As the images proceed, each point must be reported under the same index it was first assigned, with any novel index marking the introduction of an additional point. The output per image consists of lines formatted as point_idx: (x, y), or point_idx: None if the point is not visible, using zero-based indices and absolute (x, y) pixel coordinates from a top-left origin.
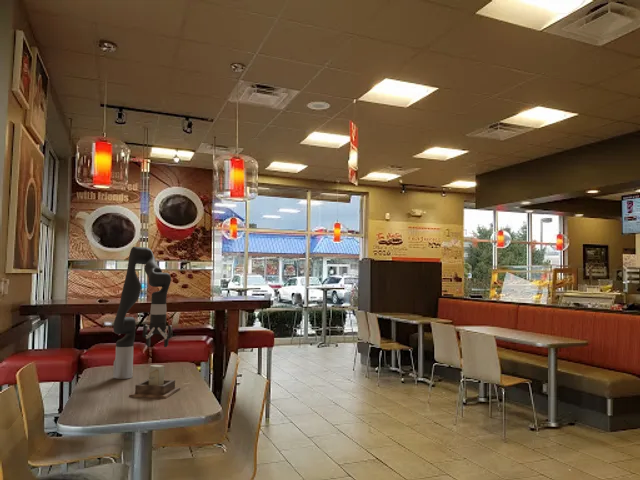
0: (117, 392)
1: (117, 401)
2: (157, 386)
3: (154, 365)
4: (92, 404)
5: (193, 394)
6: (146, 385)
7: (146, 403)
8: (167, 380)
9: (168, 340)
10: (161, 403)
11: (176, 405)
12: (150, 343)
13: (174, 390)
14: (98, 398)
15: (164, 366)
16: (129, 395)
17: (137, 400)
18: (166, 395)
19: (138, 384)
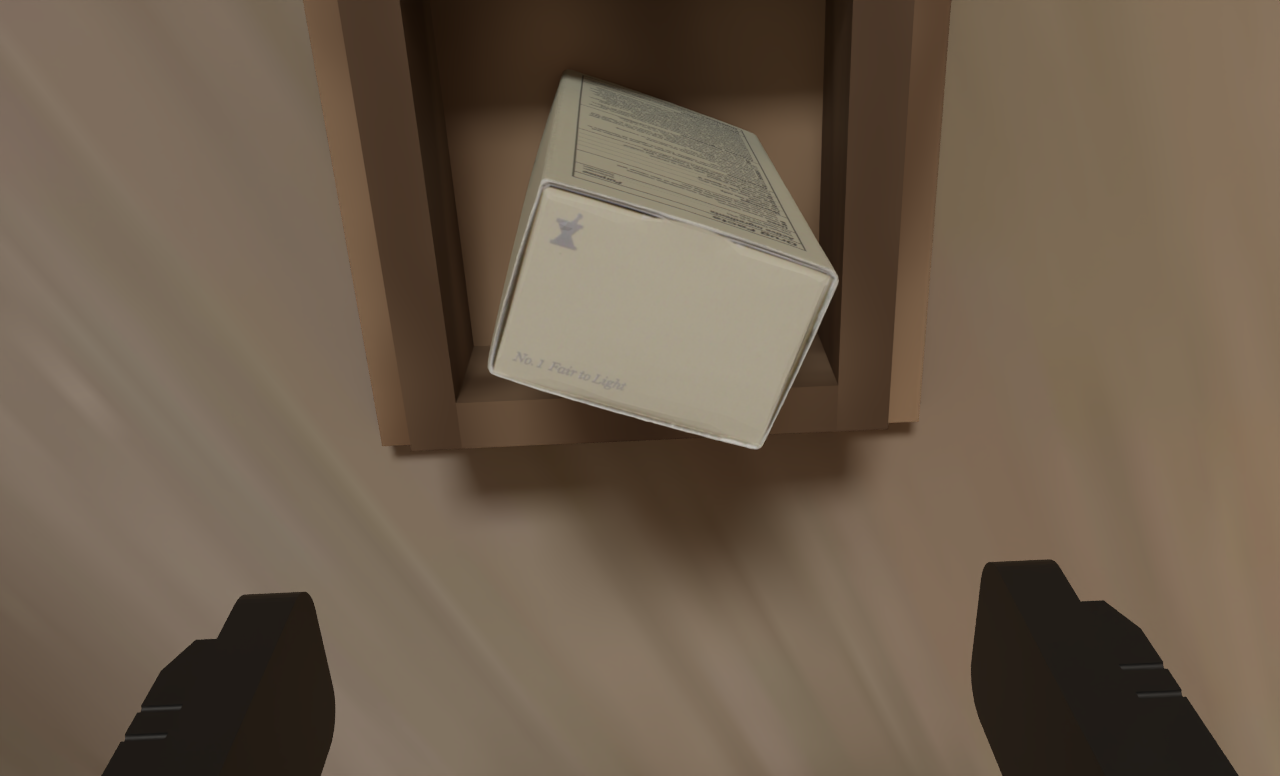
0: (54, 236)
1: (393, 634)
2: (776, 429)
3: (582, 320)
4: None
5: (1258, 122)
6: (590, 435)
7: (766, 647)
8: None
9: (1232, 769)
10: (937, 619)
11: None
12: (276, 651)
13: (930, 72)
14: (76, 564)
15: (832, 288)
16: (391, 440)
17: (596, 559)
18: (912, 394)
19: (426, 397)
